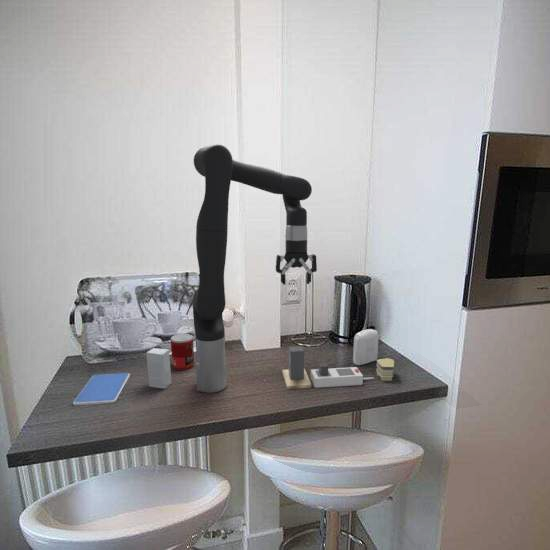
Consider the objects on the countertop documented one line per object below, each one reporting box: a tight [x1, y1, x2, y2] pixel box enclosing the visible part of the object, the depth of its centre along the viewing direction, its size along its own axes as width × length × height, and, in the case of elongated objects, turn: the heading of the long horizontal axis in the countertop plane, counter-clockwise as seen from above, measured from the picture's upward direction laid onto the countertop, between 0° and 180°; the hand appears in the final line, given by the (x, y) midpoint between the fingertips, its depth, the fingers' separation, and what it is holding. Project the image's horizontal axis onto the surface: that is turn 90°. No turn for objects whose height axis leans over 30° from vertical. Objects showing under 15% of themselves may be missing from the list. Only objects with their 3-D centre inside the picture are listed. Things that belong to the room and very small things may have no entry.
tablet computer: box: [72, 372, 131, 406], centre depth 128 cm, size 19×13×1 cm, turn 7°
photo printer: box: [352, 328, 380, 366], centre depth 146 cm, size 10×4×12 cm, turn 123°
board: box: [281, 368, 313, 390], centre depth 133 cm, size 8×12×1 cm, turn 7°
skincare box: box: [146, 347, 172, 390], centre depth 128 cm, size 6×4×12 cm
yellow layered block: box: [375, 357, 395, 382], centre depth 135 cm, size 10×9×6 cm
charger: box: [288, 345, 305, 380], centre depth 132 cm, size 4×4×10 cm
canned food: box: [170, 333, 195, 371], centre depth 143 cm, size 8×8×11 cm
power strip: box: [310, 362, 375, 389], centre depth 131 cm, size 21×6×6 cm, turn 97°
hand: (296, 283), depth 140 cm, fingers open, 8 cm apart
